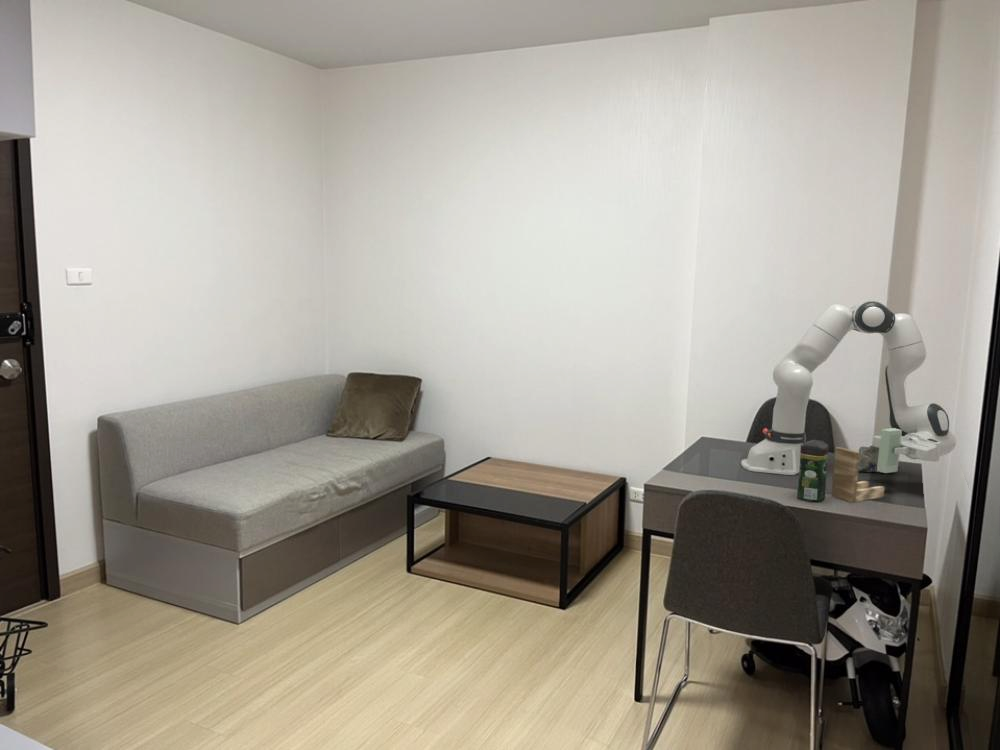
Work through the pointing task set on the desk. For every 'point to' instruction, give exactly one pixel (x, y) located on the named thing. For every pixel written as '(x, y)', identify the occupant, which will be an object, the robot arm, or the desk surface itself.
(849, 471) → the track
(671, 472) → the desk surface
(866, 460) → the mineral rock
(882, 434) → the mint green rectangular block
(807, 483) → the coffee jar
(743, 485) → the desk surface
